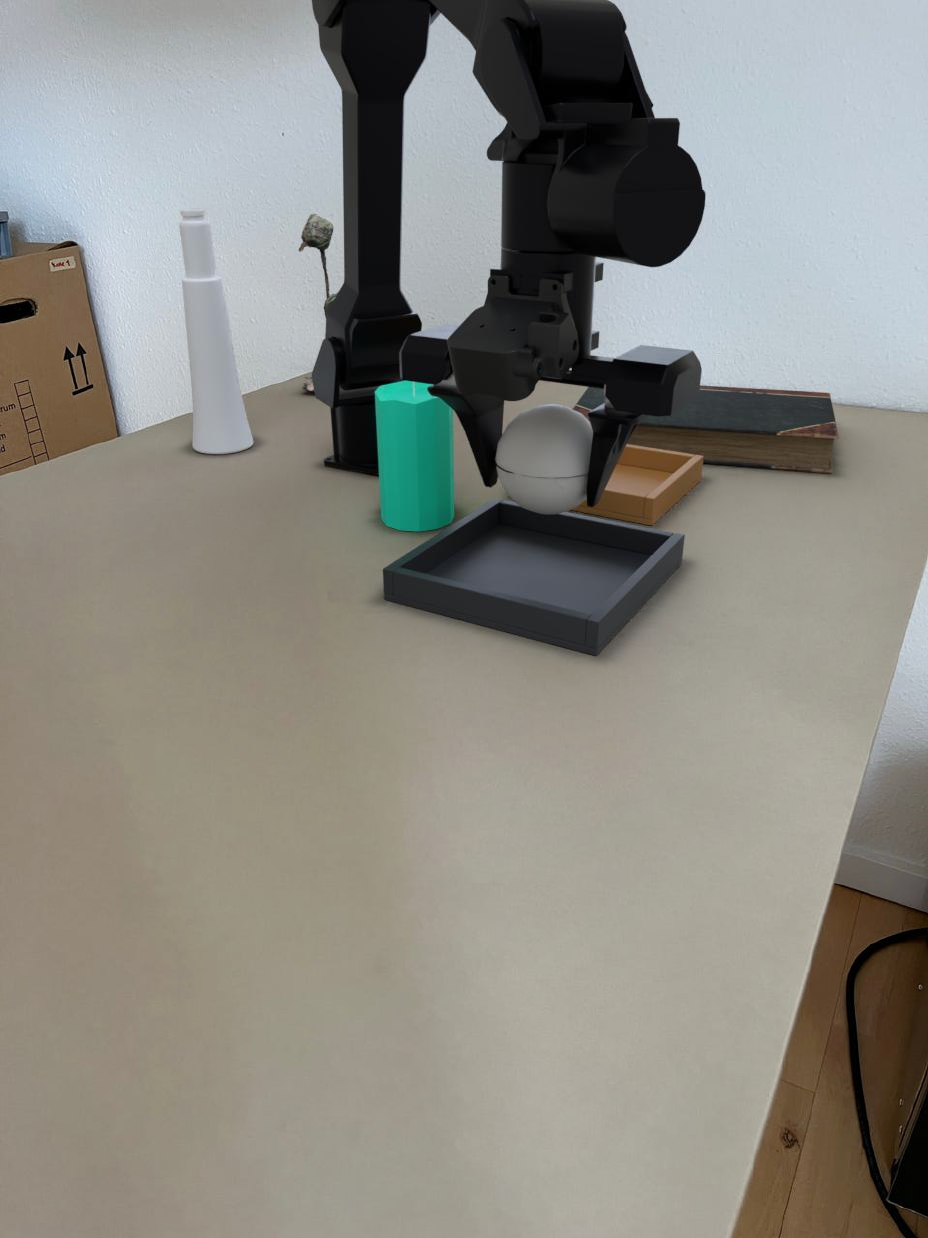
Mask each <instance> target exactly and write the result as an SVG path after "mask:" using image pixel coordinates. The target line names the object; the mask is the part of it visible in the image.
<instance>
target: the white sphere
mask: <svg viewBox="0 0 928 1238" xmlns="http://www.w3.org/2000/svg"><path fill="white" fill-rule="evenodd" d="M592 438H593V430H592V427H591V424H590V422H589V421H588V420H587V419H586V418H585V416H584V415H583V414H581V413H579V412H577V411H575V410H573V408H570V407H569V406H566V405H563V404H557V403H545V404H539V405H536V406H533V407H531V408H529V409H526V410H524V411H521V412H520V413H519V414H518V415H516V417H514V419H512V420H511V421H510V422H509V423H508V424H507V426H506V427H505V429H504V431H503V432H502V437H501V438H500V440H499V442H498V446H497V452H496V456H495V457H494V464H495V465H496V468H497V474H498V480H499V482H500V484H501V486H502V488H503V489H504V491H505V493H506V494H507V496H508V497H509V498H510V499H511V500H512V501H513V502H516V503H517V504H518V505H520V506H521V507H522V508H525V509H527V510H530V511H533V512H536V513H539V514H547V515H551V514H558V513H562V512H569V511H573V510H572V509H574V508H576V507H577V506H578V505H580V504H581V503H582V502H583V501H585V500H586V499H587V479H588V470H589V462H590V454H591V446H592Z"/></svg>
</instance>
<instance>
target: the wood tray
mask: <svg viewBox="0 0 928 1238" xmlns="http://www.w3.org/2000/svg"><path fill="white" fill-rule="evenodd" d="M703 459H704V456H701V455H694V454H688V453H682V452H675V451H669V450H662V449H656V448H649V447H643V446H636V445H630V444H627V445H626V446H625V448H624V451H623V453H622V454H621V457H620V459H619V461H618V463H617V465H616V467H615V469H614V471H613V473H612V475H611V477H610V480H609V482H608V484H607V486H606V488H605V490H604V492H603V494H602V496H601V498H600V500H599V502H598V504H596V505H595V506H594V507H588V506H587V499H586V500H585V501H583V502H582V503H581V504H580V505H578V506H577V507H576V508H574V509H572V510H571V511H573V512H578V513H584V514H590V515H595V516H599V517H603V518H604V517H605V518H610V519H615V520H620V521H625V522H631V523H636V524H640V525H645V526H646V525H647V526H651V527H652V526H653V525H654V524H655V523H657V521H658V520H660V519H661V518H663V516H664V515H665V514H666V513H667V512H669V510H671V509H672V508H673V507H674V506H675V505H676V504H677V503H678V502H679V501H680V500H682V498H683V497H685V496H686V495H687V494H688V493H689V492H690V491H691V490H692V489H693V488H694V487H696V485H698V484H699V483H700V482H701V481H702V478H703V477H702V476H703V467H704V463H703Z"/></svg>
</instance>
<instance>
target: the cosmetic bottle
mask: <svg viewBox="0 0 928 1238" xmlns="http://www.w3.org/2000/svg"><path fill="white" fill-rule="evenodd" d="M206 210H207V209H204V208H183V209H180V210H179V211H180V216H182V217H181V218H182V220H180V221H179V224H178V227H179V228H178V229H179V235H180V242H181V249H182V257H183V264H184V270H185V271H184V272H185V277H183V278H182V279H181V283H182V297H183V307H184V308H183V309H184V320H185V321H184V322H185V331H186V340H187V350H188V361H189V372H190V373H189V374H190V385H191V400H192V443H191V445H192V448H193V450H194V451H196V452H198V453H201V454H206V455H227V454H234V453H238V452H242V451H246V450H248V449H249V448H251V447H252V446H253V445H254V442H255V441H254V438H253V435H252V431H251V427H250V425H249V419H248V417H247V412H246V408H245V403H244V399H243V394H242V389H241V384H240V379H239V373H238V368H237V361H236V355H235V351H234V344H233V338H232V330H231V325H230V319H229V313H228V308H227V307H228V306H227V301H226V295H225V291H224V285H223V280H222V279H223V278H222V277H221V276H219V275H217V274H218V273H217V266H216V259H215V251H214V242H213V235H212V225H211V223H210V221H209V220H208V219H206V216H207V212H206Z"/></svg>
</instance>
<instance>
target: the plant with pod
mask: <svg viewBox="0 0 928 1238" xmlns="http://www.w3.org/2000/svg"><path fill="white" fill-rule="evenodd" d="M334 229H335V228H334V225H333V223H332V222H330V221H329V220H327V219H326V218H322V217H321V216H320V215H318V214H317V213H311V214H309V216H308V218H307V220H306V221H305V224H304V227H303V229H302V231H301V236H300V237H301V240H302V242H301V244H300V247H299V248H298V252H303V251H304V249H305V248H306V247H309V248H315V249H317V250H319V252H320V260H321V264H322V269H323V273H324V283H325V291H326V292H325V295H326V299H325V301H324V304H323V311H324V318H325V319H326V313H327V311H328V309H329V307H330V306H331V304H332V302H333V301H334V299H335V297H336V295H337V294H338V292H336V293H332V294H330V282H329V274H328V271H327V270H328V269H327V257H326V256H327V255H326V250H328V249H329V246H330V245H331V241H332V236H333V233H334ZM303 378H304V379H305V382H304V383H303V386H301V387H302V388H301V389H302V390H304V391H310V392H314V387H313V382H312V376H310V377H308V376H307V377H306V376H305V377H303Z"/></svg>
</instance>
